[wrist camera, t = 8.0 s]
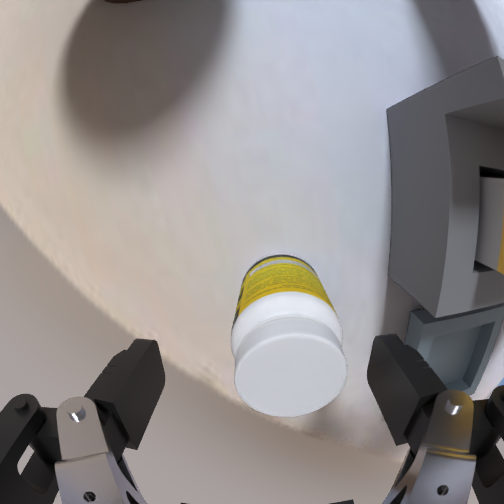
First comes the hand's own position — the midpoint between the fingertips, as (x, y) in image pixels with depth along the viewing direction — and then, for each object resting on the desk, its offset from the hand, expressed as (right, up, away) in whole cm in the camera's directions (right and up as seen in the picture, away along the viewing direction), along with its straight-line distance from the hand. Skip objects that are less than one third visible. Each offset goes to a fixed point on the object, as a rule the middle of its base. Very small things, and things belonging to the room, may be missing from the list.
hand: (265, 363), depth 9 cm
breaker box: (+17, +7, +5) cm, 19 cm away
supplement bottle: (+1, +2, +8) cm, 8 cm away
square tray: (+16, -5, +8) cm, 18 cm away
